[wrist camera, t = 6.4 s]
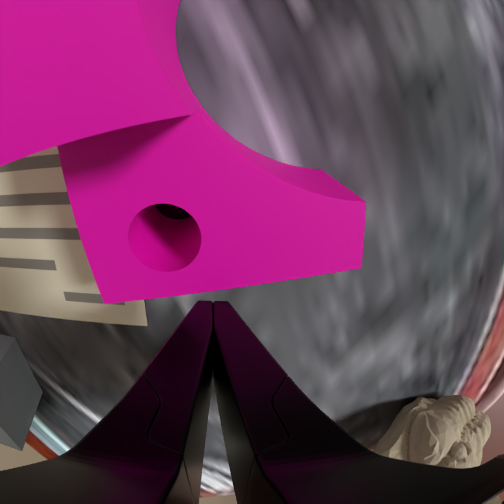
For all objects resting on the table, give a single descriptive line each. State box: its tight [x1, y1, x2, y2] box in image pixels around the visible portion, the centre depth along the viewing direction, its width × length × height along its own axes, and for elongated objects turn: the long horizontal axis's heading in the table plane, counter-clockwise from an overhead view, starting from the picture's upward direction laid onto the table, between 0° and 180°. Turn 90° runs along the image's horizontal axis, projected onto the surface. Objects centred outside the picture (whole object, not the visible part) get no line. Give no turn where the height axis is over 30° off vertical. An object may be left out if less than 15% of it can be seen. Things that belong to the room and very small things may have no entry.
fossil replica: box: [373, 395, 491, 468], centre depth 16 cm, size 12×8×10 cm
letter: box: [0, 146, 147, 326], centre depth 10 cm, size 12×10×1 cm
